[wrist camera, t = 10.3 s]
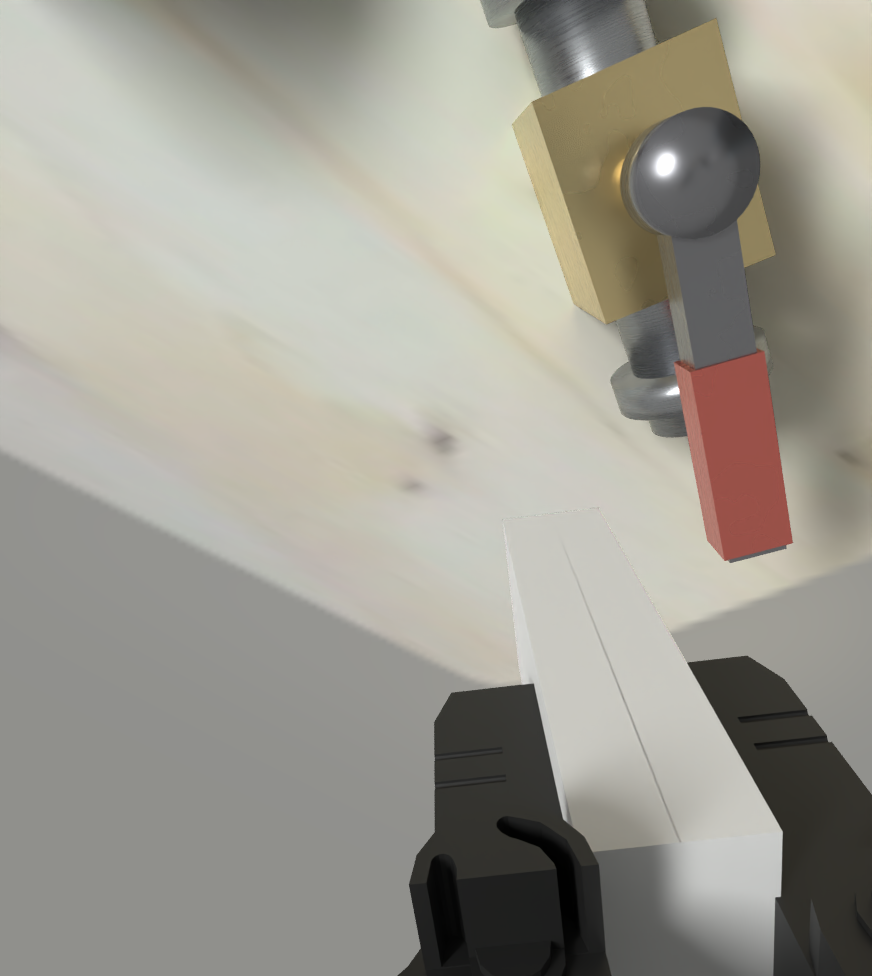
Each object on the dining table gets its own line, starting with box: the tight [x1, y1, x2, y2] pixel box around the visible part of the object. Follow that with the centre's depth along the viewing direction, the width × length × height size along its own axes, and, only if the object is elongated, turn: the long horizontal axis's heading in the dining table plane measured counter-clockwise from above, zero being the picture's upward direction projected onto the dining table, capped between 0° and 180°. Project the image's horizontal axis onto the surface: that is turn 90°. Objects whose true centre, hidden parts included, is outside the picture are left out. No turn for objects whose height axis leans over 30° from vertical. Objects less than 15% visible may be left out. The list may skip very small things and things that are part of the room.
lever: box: [620, 107, 793, 563], centre depth 25 cm, size 15×4×2 cm, turn 16°
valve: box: [480, 0, 776, 437], centre depth 29 cm, size 20×6×9 cm, turn 23°
